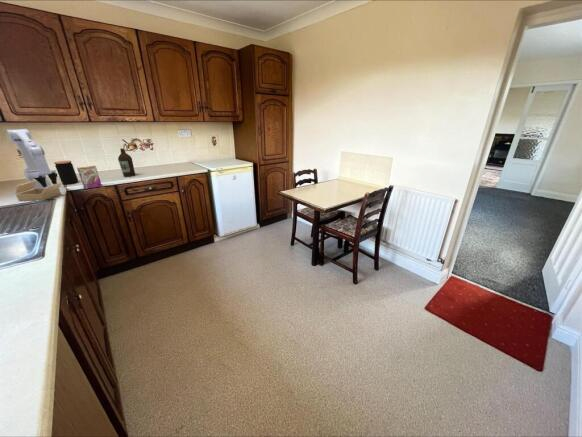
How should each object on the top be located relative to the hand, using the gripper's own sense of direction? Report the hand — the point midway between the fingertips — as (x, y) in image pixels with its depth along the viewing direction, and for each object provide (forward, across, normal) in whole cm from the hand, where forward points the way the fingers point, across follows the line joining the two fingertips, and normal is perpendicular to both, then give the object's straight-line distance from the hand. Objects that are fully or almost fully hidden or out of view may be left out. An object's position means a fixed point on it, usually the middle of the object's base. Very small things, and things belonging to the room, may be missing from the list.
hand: (50, 185), depth 165 cm
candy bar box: (+9, +25, -9) cm, 28 cm away
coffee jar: (+9, +39, +19) cm, 44 cm away
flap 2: (+1, 0, -1) cm, 1 cm away
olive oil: (+9, +63, -16) cm, 65 cm away
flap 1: (+1, 0, +16) cm, 16 cm away
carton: (+8, 0, +9) cm, 13 cm away
